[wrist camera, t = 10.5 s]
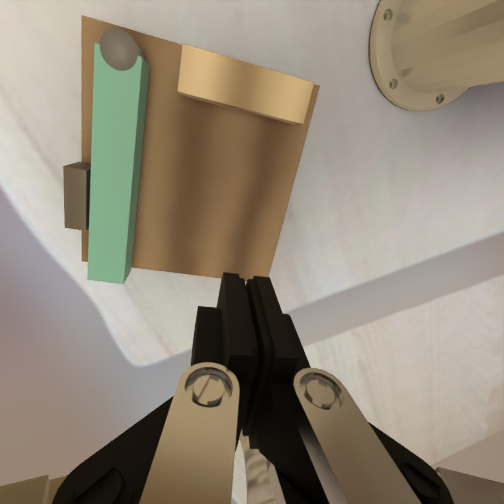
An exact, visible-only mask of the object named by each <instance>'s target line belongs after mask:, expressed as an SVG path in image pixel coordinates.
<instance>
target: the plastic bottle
mask: <svg viewBox="0 0 504 504" xmlns="http://www.w3.org/2000/svg"><path fill="white" fill-rule="evenodd" d="M239 438H240V441H241V445H242V450H243V455H244V461H245V469H246V484H247V504H277V503H276V500H275V496H274V493H273V489H272V486H271V482H270V479H269V475H268V472H267V465H266V462H267V459H266V458H265V457H264V456H263V455H262V454H261V453H260V452H259V449H250V446H249V437H248V436H243V434H242V430H241V434H240V437H239Z"/></svg>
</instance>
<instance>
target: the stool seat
mask: <svg viewBox="0 0 504 504" xmlns="http://www.w3.org/2000/svg"><path fill="white" fill-rule="evenodd" d="M111 28H118V29H121V30H124V31H125V32H127V33H128V34H129V35H130V36H131V37H132V38H133V40H134V41H135V42H136V43H137V44H138V46H139V47H140V48H141V49H142V51H143V53H144V55H145V58H146V62H147V63H148V64H149V65H150V71H149V82H148V92H147V103H146V114H145V125H144V136H143V147H142V158H141V168H140V179H139V190H138V201H137V212H136V223H135V234H134V245H133V255H132V266H131V267H133V268H142V269H150V270H158V271H166V272H174V273H182V274H190V275H199V276H207V277H215V278H222V275H223V272H228V273H237V274H239V277H240V278H244V280H245V281H247V280H248V279H253V276H263V277H268V276H269V272H270V268H271V264H272V261H273V257H274V253H275V250H276V246H277V242H278V239H279V235H280V231H281V227H282V224H283V220H284V216H285V213H286V209H287V205H288V202H289V198H290V194H291V190H292V187H293V183H294V179H295V176H296V172H297V168H298V165H299V161H300V157H301V153H302V150H303V146H304V142H305V139H306V135H307V131H308V128H309V124H310V120H311V116H312V113H313V109H314V105H315V102H316V98H317V94H318V91H319V87H320V86H319V85H315V84H314V83H313V82H310V81H307V80H303V79H300V78H297V77H293V76H290V75H287V74H283V73H280V72H277V71H273V70H270V69H266V68H263V67H260V66H256V65H253V64H250V63H246V62H243V61H240V60H236V59H233V58H229V57H226V56H223V55H219V54H216V53H213V52H209V51H206V50H203V49H199V48H196V47H193V46H189V45H186V44H183V45H180V44H177V43H174V42H170V41H167V40H163V39H160V38H157V37H153V36H150V35H147V34H143V33H140V32H136V31H133V30H130V29H126V28H123V27H120V26H116V25H113V24H109V23H106V22H103V21H99V20H96V19H93V18H89V17H86V16H82V162H77V163H74V164H70V165H66V166H63V170H64V212H65V228H71V229H78V230H82V261H85V262H88V246H89V213H90V179H91V146H92V113H93V80H94V46H95V43H97V44H100V39H101V36H102V35H103V33H104V32H105V31H107V30H108V29H111Z"/></svg>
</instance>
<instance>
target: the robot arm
mask: <svg viewBox="0 0 504 504" xmlns="http://www.w3.org/2000/svg"><path fill="white" fill-rule="evenodd" d="M383 16H384V18H383ZM370 60H371V67H372V71H373V74H374V78H375V80H376V82H377V84H378V86H379V88H380V90H381V91H382V93H383V94H384V95H385V96H386V98H387V99H389V100H390V101H391V102H392V103H394V104H395V105H397V106H399V107H401V108H403V109H407V110H413V111H423V110H431V109H436V108H439V107H441V106H444V105H446V104H449V103H450V102H452V101H453V100H455V99H456V98H458V97H459V96H460V95H462V94H463V93H464V92H465V91H466V90H467V89H468V88H469V87H471V86H478V85H484V84H491V83H497V82H504V0H381V1H380V3H379V5H378V8H377V11H376V14H375V17H374V20H373V25H372V30H371V35H370ZM389 83H390V87H389ZM241 430H242V434H243V436H248V437H249V446H250V449H259V452H260V453H261V454H262V455H263V456H264V457H265V458H266V459H267V462H266V465H267V472H268V475H269V479H270V482H271V486H272V489H273V493H274V496H275V500H276V503H277V504H504V483H500V482H496V481H492V480H488V479H484V478H480V477H476V476H472V475H468V474H464V473H460V472H456V471H452V470H448V469H444V468H440V467H437V468H436V470H434V469H433V468H432V467H431V466H429V465H428V464H427V463H426V462H425V461H423V460H422V459H421V458H419V457H418V456H416V455H415V454H414V453H412V452H411V451H409V450H408V449H406V448H405V447H404V446H402V445H401V444H399V443H398V442H396V441H395V440H394V439H392V438H391V437H389V436H388V435H386V434H385V433H383V432H382V431H381V430H379V429H378V428H376V427H375V426H373V425H372V424H371V423H369V422H368V421H367V420H366V418H365V417H364V415H363V414H362V412H361V411H360V409H359V408H358V406H357V405H356V403H355V402H354V400H353V399H352V397H351V395H350V394H349V392H348V391H347V389H346V388H345V387H344V385H343V384H342V383H341V382H340V381H339V380H338V379H337V378H336V377H335V376H333V375H332V374H330V373H328V372H326V371H324V370H321V369H317V368H311V367H310V365H309V362H308V360H307V357H306V354H305V352H304V349H303V347H302V345H301V342H300V339H299V337H298V334H297V332H296V329H295V327H294V324H293V322H292V319H291V317H290V315H288V314H283V313H282V310H281V308H280V305H279V302H278V299H277V297H276V294H275V291H274V288H273V286H272V283H271V280H270V278H269V277H263V276H253V279H248V280H247V283H246V285H245V280H244V278H240V277H239V274H237V273H228V272H223V275H222V280H221V286H220V291H219V297H218V303H217V308H214V307H203V306H198V310H197V316H196V323H195V330H194V338H193V347H192V358H191V367H189V368H188V369H187V370H186V371H185V372H184V373H183V374H182V376H181V377H180V379H179V382H178V385H177V388H176V391H175V394H174V396H173V397H171V398H170V399H169V400H167V401H166V402H165V403H163V404H162V405H161V406H159V407H158V408H156V409H155V410H154V411H152V412H151V413H150V414H148V415H147V416H146V417H144V418H143V419H141V420H140V421H139V422H137V423H136V424H134V425H133V426H132V427H130V428H129V429H128V430H126V431H125V432H124V433H122V434H121V435H119V436H118V437H117V438H115V439H114V440H113V441H111V442H110V443H108V444H107V445H106V446H104V447H103V448H102V449H100V450H99V451H97V452H96V453H95V454H93V455H92V456H91V457H89V458H88V459H87V460H85V461H84V462H82V463H81V464H80V465H79V466H77V467H76V468H75V469H74V470H73V471H72V472H71V473H70V474H69V475H67V476H63V477H59V478H55V479H51V480H49V475H45V476H40V477H36V478H32V479H28V480H24V481H20V482H16V483H12V484H7V485H3V486H0V504H231V497H232V483H233V470H234V457H235V452H236V448H237V445H238V441H239V437H240V434H241Z"/></svg>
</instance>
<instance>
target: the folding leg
mask: <svg viewBox="0 0 504 504" xmlns="http://www.w3.org/2000/svg"><path fill="white" fill-rule="evenodd" d="M149 71H150V65H149V64H148V63H147V62H146V58H145V55H144V53H143V51H142V49H141V48H140V47H139V46H138V44H137V43H136V42H135V41H134V40H133V38H132V37H131V36H130V35H129V34H128V33H127V32H125V31H124V30H121V29H118V28H111V29H108V30H107V31H105V32H104V33H103V35H102V36H101V39H100V44H97V43H95V46H94V80H93V113H92V146H91V179H90V213H89V246H88V279H87V280H94V281H102V282H110V283H118V284H124V282H125V280H126V278H127V276H128V275H129V273H130V271H131V266H132V255H133V245H134V234H135V223H136V212H137V201H138V190H139V179H140V168H141V158H142V147H143V136H144V125H145V114H146V103H147V92H148V82H149Z"/></svg>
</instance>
